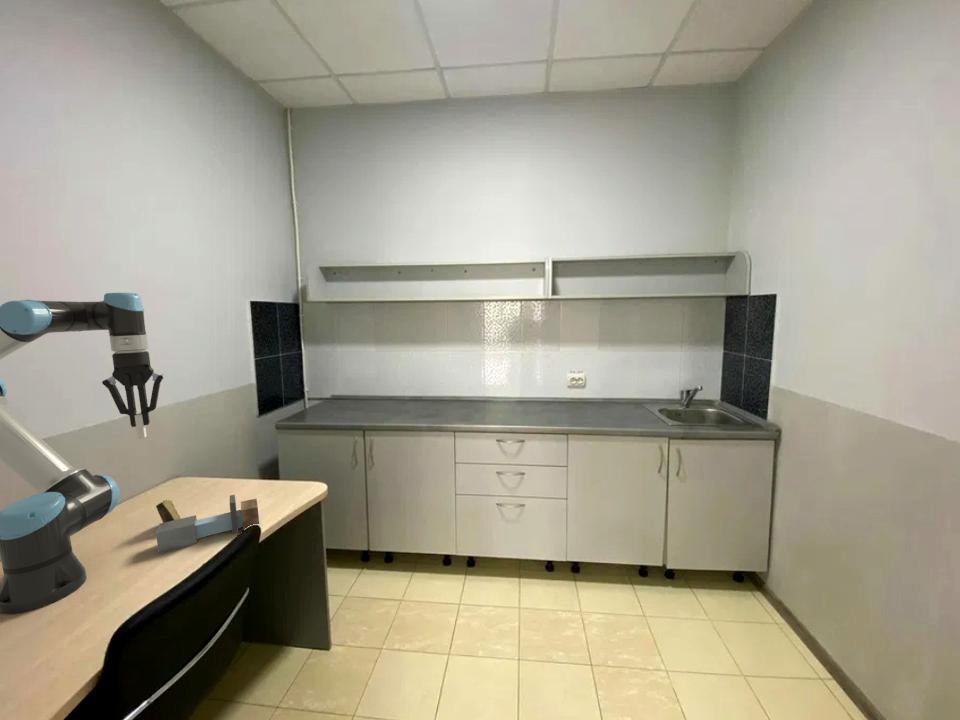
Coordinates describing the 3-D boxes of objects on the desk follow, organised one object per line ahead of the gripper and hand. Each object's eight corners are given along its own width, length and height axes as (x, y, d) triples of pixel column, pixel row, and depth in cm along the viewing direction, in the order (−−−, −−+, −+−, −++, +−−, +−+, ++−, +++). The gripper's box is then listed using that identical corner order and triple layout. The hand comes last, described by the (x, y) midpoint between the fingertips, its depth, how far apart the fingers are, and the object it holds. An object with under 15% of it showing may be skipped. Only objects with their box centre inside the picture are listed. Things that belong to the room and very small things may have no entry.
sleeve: (158, 553, 118) (155, 533, 117) (162, 543, 123) (159, 523, 122) (196, 543, 122) (194, 524, 121) (198, 534, 128) (196, 515, 127)
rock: (160, 514, 137) (140, 525, 127) (176, 491, 138) (158, 500, 128) (189, 530, 138) (173, 542, 128) (205, 508, 139) (190, 518, 130)
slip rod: (181, 546, 120) (177, 515, 119) (184, 536, 126) (180, 506, 125) (252, 528, 129) (249, 498, 128) (251, 519, 135) (248, 491, 134)
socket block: (243, 532, 128) (241, 510, 127) (242, 522, 134) (240, 501, 133) (259, 527, 130) (257, 506, 129) (258, 518, 136) (256, 498, 135)
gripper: (93, 354, 103) (107, 445, 106) (158, 350, 110) (169, 436, 113) (102, 352, 110) (114, 438, 113) (163, 348, 116) (173, 430, 119)
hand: (142, 437), depth 113 cm, fingers closed
